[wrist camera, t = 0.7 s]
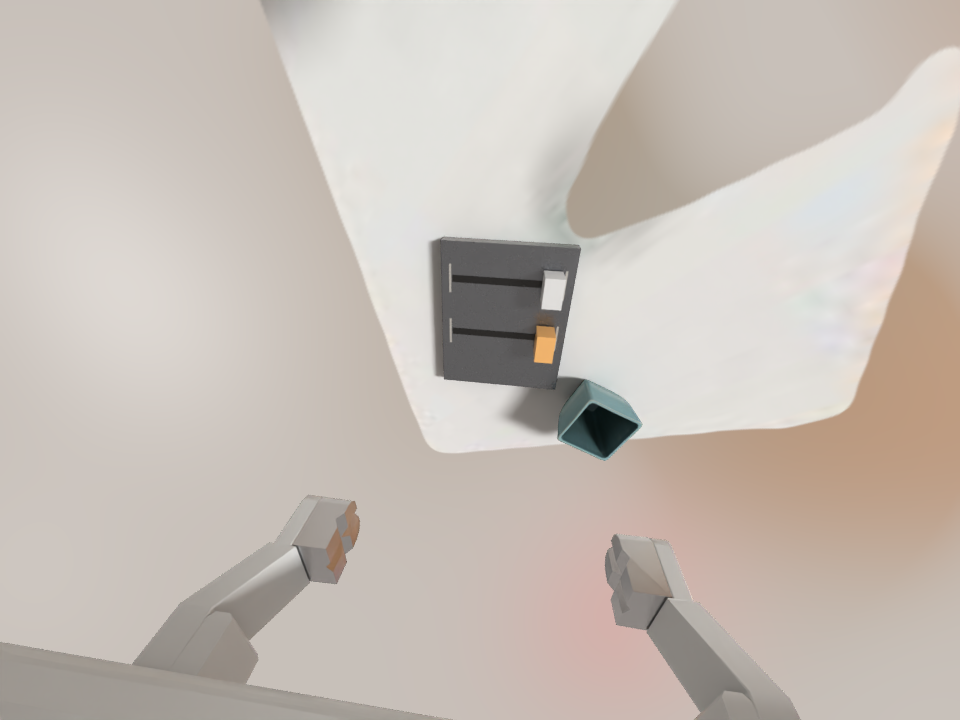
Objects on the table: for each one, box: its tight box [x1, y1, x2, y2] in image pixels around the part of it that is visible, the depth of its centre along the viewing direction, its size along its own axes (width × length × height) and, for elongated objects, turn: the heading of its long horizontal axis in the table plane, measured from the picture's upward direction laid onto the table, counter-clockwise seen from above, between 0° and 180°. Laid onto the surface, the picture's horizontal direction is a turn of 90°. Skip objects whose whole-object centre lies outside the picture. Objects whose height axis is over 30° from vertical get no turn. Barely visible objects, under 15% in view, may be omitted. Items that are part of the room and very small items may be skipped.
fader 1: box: [540, 270, 566, 311], centre depth 44 cm, size 4×2×4 cm, turn 178°
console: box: [441, 237, 581, 389], centre depth 50 cm, size 22×18×2 cm
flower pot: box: [557, 380, 643, 461], centre depth 53 cm, size 9×9×9 cm
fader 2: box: [533, 326, 556, 364], centre depth 48 cm, size 4×2×4 cm, turn 178°
